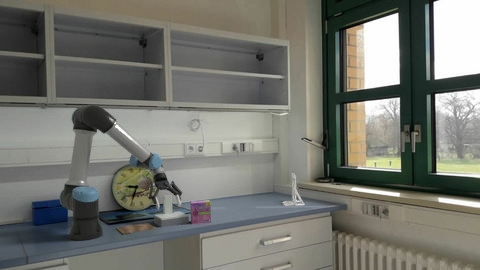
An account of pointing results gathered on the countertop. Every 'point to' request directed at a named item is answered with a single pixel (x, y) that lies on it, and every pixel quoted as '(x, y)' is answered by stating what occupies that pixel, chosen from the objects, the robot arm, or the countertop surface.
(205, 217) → the box
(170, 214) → the white t-shaped stand
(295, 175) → the film strip holder
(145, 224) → the pad
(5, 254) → the countertop surface
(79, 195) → the robot arm
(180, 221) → the tub
